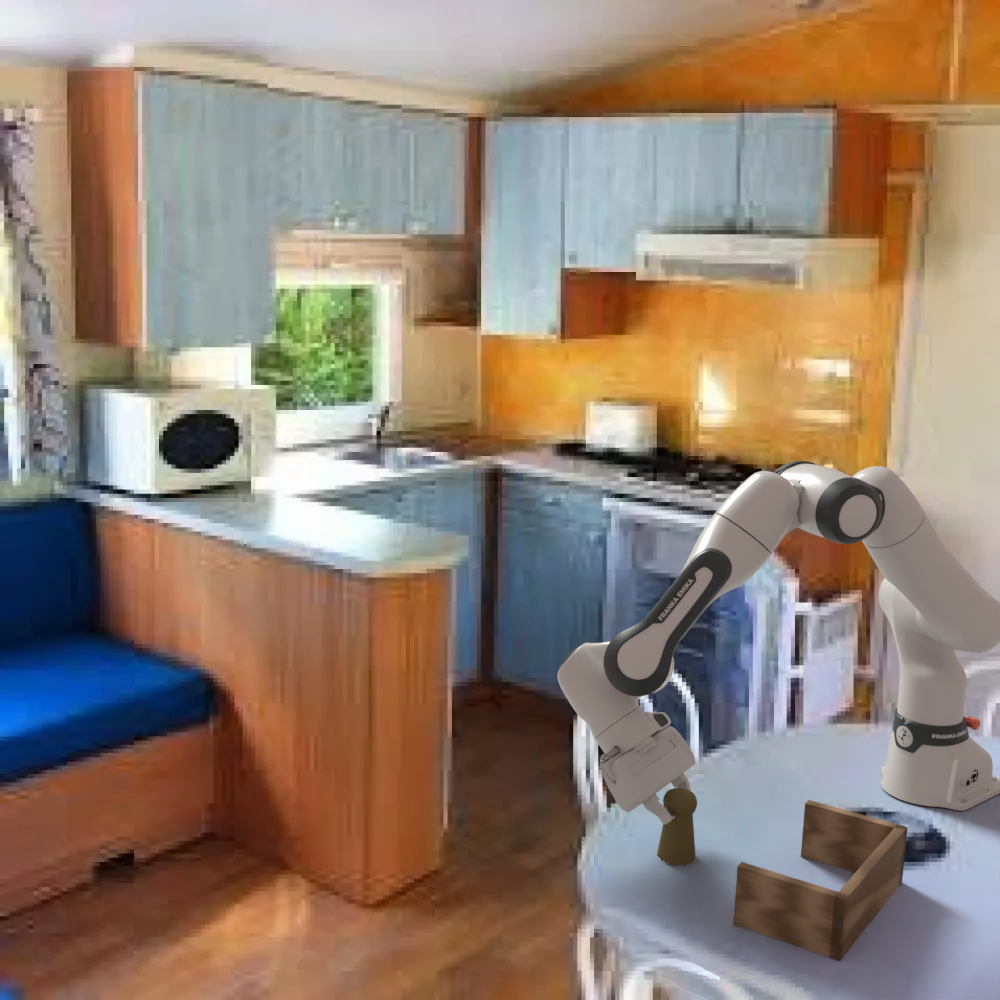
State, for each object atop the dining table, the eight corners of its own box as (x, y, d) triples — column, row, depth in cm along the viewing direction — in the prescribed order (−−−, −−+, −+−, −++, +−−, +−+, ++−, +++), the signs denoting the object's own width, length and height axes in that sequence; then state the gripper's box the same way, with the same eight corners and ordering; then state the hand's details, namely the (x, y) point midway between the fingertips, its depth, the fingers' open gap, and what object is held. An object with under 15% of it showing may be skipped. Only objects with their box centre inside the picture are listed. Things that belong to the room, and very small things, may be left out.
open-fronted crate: (733, 924, 181) (737, 865, 180) (804, 852, 203) (808, 799, 201) (840, 961, 173) (845, 899, 171) (902, 882, 195) (907, 827, 193)
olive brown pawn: (694, 868, 198) (699, 802, 195) (655, 863, 199) (659, 797, 196) (696, 850, 203) (701, 785, 201) (658, 845, 204) (662, 781, 202)
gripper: (608, 749, 193) (663, 827, 189) (670, 710, 209) (722, 781, 206) (582, 769, 196) (635, 847, 193) (645, 729, 213) (695, 800, 209)
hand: (681, 812), depth 199 cm, fingers open, 6 cm apart
